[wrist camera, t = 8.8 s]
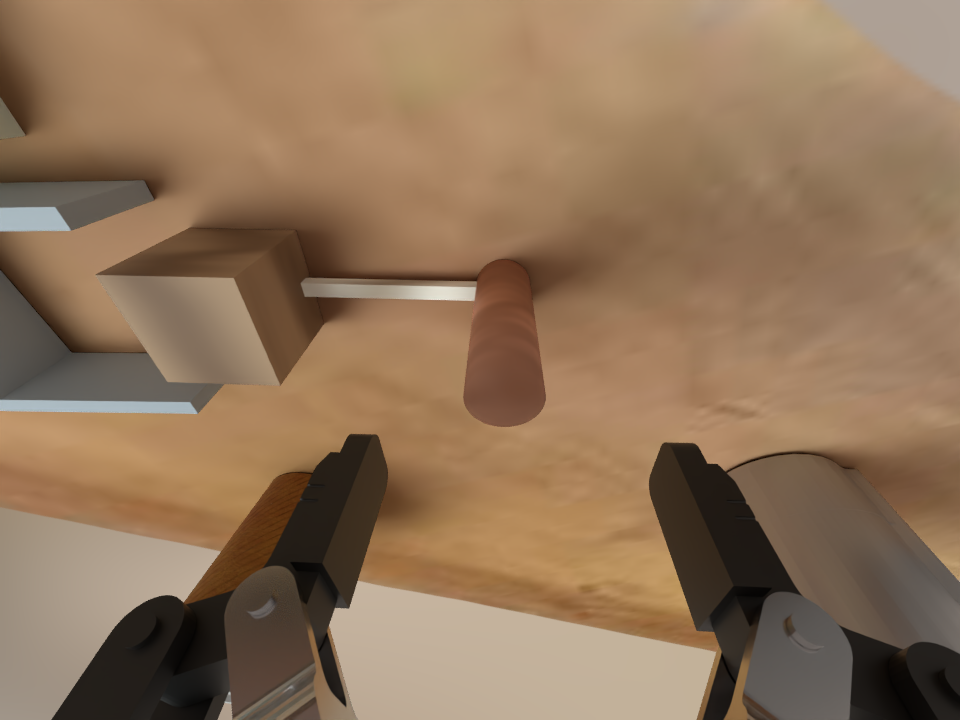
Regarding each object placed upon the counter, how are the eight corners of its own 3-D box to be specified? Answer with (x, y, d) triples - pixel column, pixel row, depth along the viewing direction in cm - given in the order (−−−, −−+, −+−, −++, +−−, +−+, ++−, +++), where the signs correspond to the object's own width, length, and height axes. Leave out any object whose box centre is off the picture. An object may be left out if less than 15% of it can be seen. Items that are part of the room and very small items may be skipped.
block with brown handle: (534, 234, 17) (555, 334, 10) (525, 329, 20) (537, 450, 13) (189, 228, 17) (5, 319, 11) (233, 321, 20) (110, 435, 14)
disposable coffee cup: (229, 456, 28) (87, 658, 18) (356, 460, 27) (279, 668, 18) (274, 524, 33) (184, 703, 24) (379, 527, 33) (330, 711, 23)
